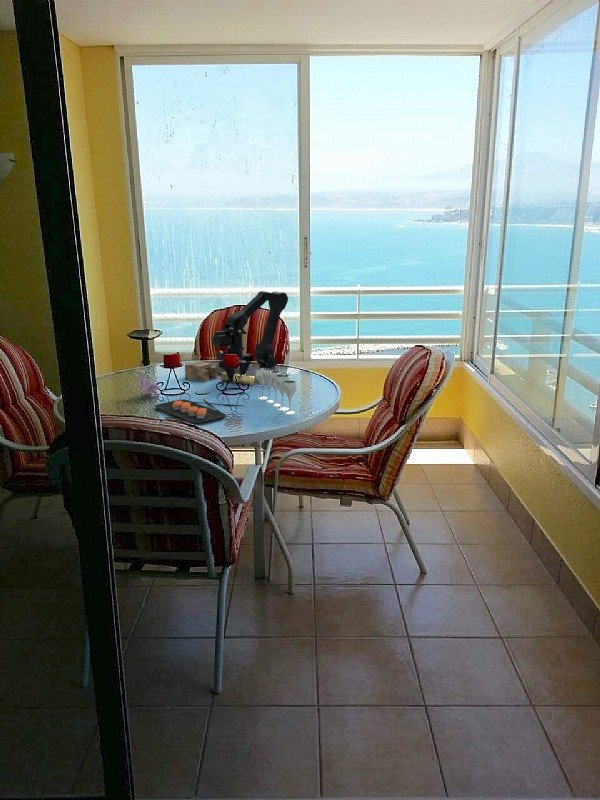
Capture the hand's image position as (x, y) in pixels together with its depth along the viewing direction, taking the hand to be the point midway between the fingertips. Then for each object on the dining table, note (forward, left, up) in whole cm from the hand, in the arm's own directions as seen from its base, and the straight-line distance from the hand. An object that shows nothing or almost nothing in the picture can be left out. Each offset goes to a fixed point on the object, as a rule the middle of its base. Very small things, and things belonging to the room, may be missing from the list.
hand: (236, 380), depth 276 cm
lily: (+19, +36, -2) cm, 41 cm away
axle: (+1, -2, 0) cm, 2 cm away
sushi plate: (-12, +38, -2) cm, 40 cm away
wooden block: (+19, 0, -2) cm, 19 cm away
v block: (+12, -16, -2) cm, 20 cm away
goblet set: (-31, +19, -2) cm, 37 cm away
